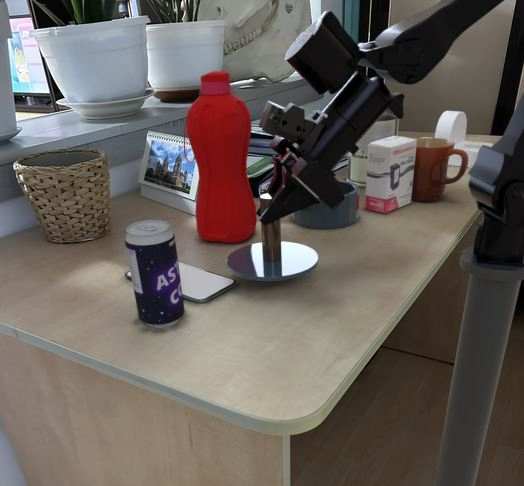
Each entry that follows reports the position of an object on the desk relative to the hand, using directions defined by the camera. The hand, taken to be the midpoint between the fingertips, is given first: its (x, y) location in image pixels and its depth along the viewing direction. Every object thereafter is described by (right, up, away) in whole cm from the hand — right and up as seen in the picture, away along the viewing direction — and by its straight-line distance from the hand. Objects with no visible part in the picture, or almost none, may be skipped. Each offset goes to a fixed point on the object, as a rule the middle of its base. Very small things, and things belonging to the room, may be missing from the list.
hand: (260, 219), depth 71 cm
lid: (+2, -5, +3) cm, 6 cm away
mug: (+33, +12, +34) cm, 49 cm away
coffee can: (+24, +19, +47) cm, 56 cm away
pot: (+12, +7, +27) cm, 30 cm away
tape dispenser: (+45, +29, +60) cm, 80 cm away
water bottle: (-6, +2, +22) cm, 23 cm away
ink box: (+24, +10, +31) cm, 41 cm away
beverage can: (-12, -14, -3) cm, 19 cm away
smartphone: (-11, -7, +6) cm, 15 cm away
